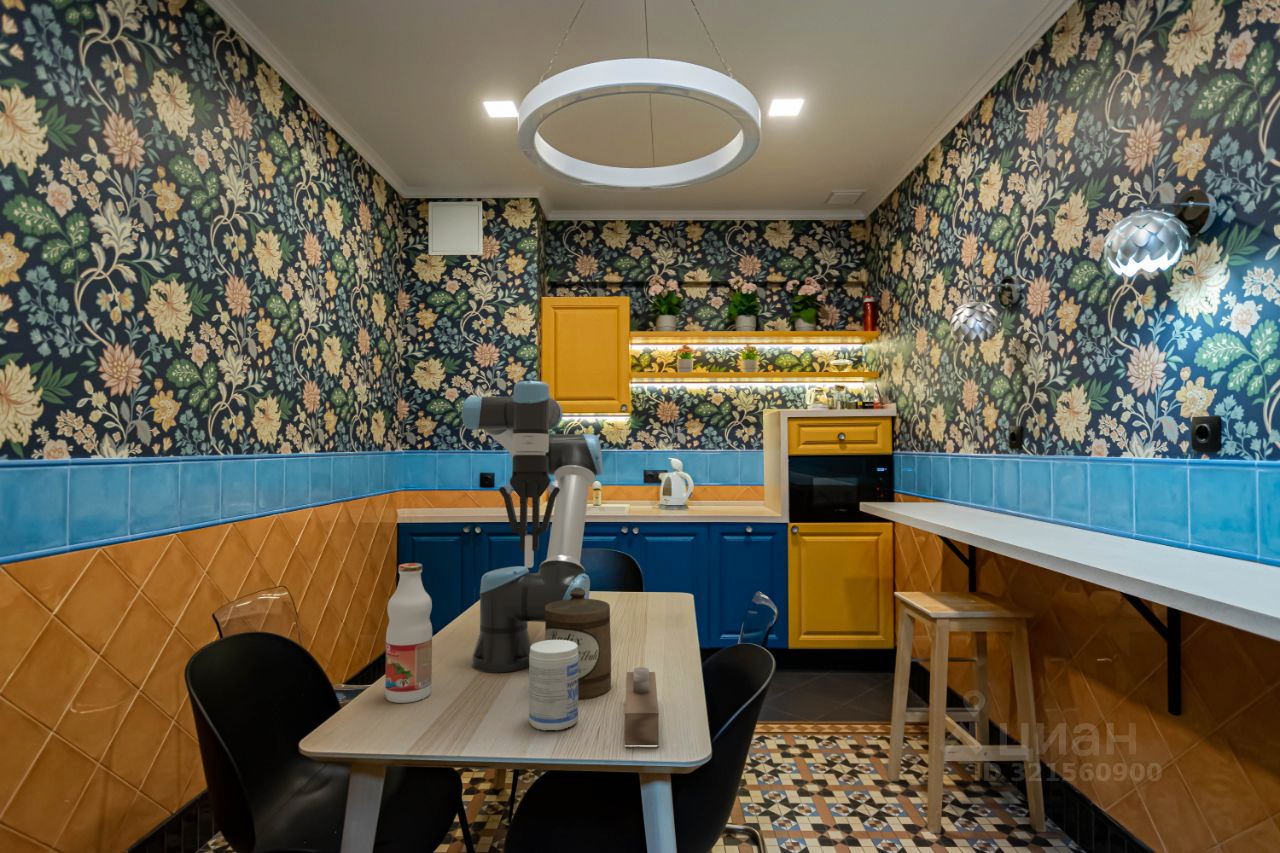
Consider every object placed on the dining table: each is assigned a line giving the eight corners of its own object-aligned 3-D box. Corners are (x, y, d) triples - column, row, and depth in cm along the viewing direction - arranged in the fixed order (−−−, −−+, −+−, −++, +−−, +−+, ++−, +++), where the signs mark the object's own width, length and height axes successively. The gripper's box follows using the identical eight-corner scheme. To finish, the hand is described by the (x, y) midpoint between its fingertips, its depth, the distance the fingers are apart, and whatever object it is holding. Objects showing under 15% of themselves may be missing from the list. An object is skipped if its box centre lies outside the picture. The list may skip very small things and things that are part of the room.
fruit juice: (437, 697, 140) (439, 565, 141) (391, 707, 134) (393, 570, 136) (423, 685, 148) (425, 559, 149) (380, 693, 142) (382, 563, 143)
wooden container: (532, 694, 142) (532, 592, 143) (562, 673, 156) (563, 579, 157) (594, 703, 137) (595, 597, 138) (620, 680, 151) (621, 584, 152)
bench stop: (624, 747, 116) (624, 690, 117) (626, 700, 138) (626, 652, 139) (658, 747, 116) (658, 690, 117) (655, 700, 138) (655, 652, 139)
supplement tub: (579, 731, 123) (579, 652, 124) (527, 734, 122) (528, 654, 122) (577, 711, 133) (577, 637, 133) (529, 713, 131) (530, 639, 132)
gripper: (496, 453, 135) (494, 569, 134) (559, 454, 136) (558, 569, 134) (503, 454, 143) (501, 563, 141) (563, 454, 143) (561, 563, 142)
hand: (529, 566), depth 138 cm, fingers closed
